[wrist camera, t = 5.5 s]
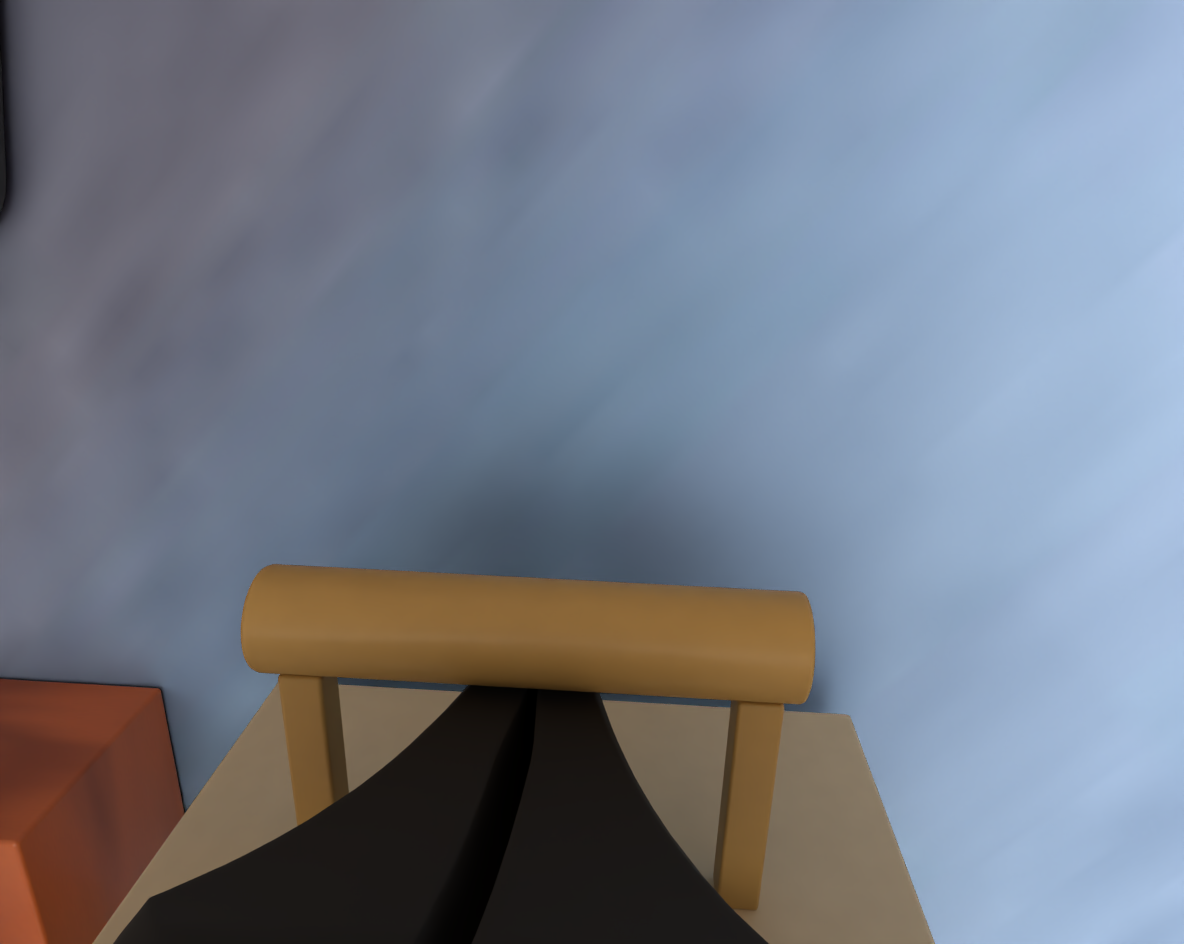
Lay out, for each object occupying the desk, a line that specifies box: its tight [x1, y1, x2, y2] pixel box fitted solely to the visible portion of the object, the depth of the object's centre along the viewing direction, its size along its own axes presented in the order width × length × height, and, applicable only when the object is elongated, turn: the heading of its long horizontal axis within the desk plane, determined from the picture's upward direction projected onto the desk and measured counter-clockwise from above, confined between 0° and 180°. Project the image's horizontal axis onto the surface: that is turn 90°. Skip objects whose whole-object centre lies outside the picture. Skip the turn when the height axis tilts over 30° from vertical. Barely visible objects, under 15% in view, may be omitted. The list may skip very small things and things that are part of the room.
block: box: [0, 679, 185, 944], centre depth 17 cm, size 4×4×4 cm
